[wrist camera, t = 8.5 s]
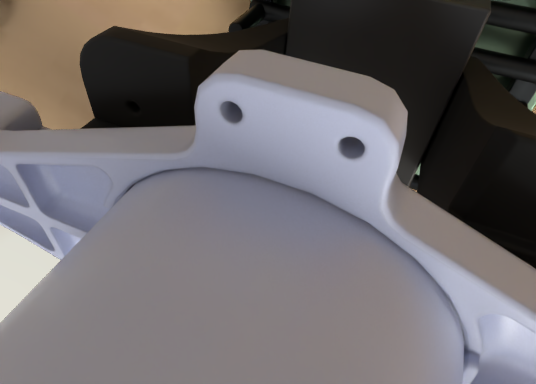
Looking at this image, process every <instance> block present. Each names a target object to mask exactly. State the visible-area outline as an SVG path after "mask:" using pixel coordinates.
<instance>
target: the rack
mask: <svg viewBox="0 0 536 384" xmlns="http://www.w3.org/2000/svg"><path fill="white" fill-rule="evenodd" d="M290 5H291V0H251V3H250V7H249V10H248V11H246V12H245V13H244V14H243V15H241V16H240V17H239V18H238V19H236V20H235V21H234V22H233V23H231V24H230V26H229V32H234V31H239V30H243V29H248V28H252V27H256V26H260V25H264V24H268V23H271V22H275V21H279V20H282V19H286V18H289V15H290ZM471 56H472V57H476V58H478V59H479V60H480V61H481V62H482V63H483V64H484V65H485V66H486V67H487V69H488V70H489V71H490V72H491V73H492V74H493V76H494V77H495V78H496V79H497V80H498V81H499V82H500V83H501V85H502V86H503V87H504V88H505V89H506V90H507V91H508V92H509V93H510V94H511V95H513V96H514V97H515V98H516V99H517V100H518V101H519V102H520V103H522V104H523V105H524V106H525V107H527V108H528V109H529V110H531V111H532V110H533V108H534V107H535V105H536V0H491V13H490V15H489V17H488V19H487V22H486V24H485V26H484V28H483V30H482V32H481V34H480V37H479V39H478V41H477V43H476V45H475V47H474V49H473V51H472V54H471ZM420 164H421V163H420ZM419 174H420V165H419V167H418V169H417V171H416V173H415V175H414V177H413V180H412V182H411V184H410V186H409V188H411V189H414V190H418V184H419Z"/></svg>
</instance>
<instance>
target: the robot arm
mask: <svg viewBox="0 0 536 384" xmlns="http://www.w3.org/2000/svg"><path fill="white" fill-rule="evenodd" d="M288 24H289V18H286V19H282V20H279V21H275V22H271V23H268V24H264V25H260V26H256V27H252V28H248V29H243V30H239V31H234V32H227V33H219V34H208V35H175V34H162V33H152V32H145V31H139V30H133V29H128V28H122V27H117V26H113V27H111V28H109V29H107V30H106V31H104V32H102V33H100V34H98V35H97V36H95V37H93V38H91V39H90V40H89V41H88V42H87V43H85V44H84V47H83V49H82V51H81V53H80V68H81V73H82V78H83V82H84V85H85V88H86V91H87V94H88V98H89V101H90V104H91V107H92V111H93V114H94V117H95V118H94V119H93V120H92V121H90V122H89V123H88V124H86V125H85V126H84V127H82V128H81V129H56V130H52V129H49V128H46V127H43V126H42V122H41V119H40V116H39V114H38V112H37V110H36V108H35V107H34V106H33V105H32V104H31V103H30V102H29V101H27V100H25V99H23V98H20V97H17V96H14V95H11V94H8V93H5V92H2V91H0V225H2V226H4V227H5V228H8V229H9V230H11V231H13V232H15V233H16V234H18V235H20V236H22V237H23V238H25V239H27V240H28V241H30V242H32V243H34V244H35V245H37V246H39V247H40V248H42V249H43V250H45V251H47V252H48V253H50V254H52V255H53V256H55V257H57V258H58V259H60V260H61V261H60V262H59V263H58V264H57V265H56V266H55V267H54V268H53V269H52V270H51V271H50V272H49V273H48V274H47V275H46V276H45V277H44V278H43V279H42V280H41V281H40V282H39V283H38V284H37V285H36V286H35V288H34V289H33V290H32V291H31V292H30V293H29V294H28V295H27V296H26V297H25V298H24V299H23V300H22V301H21V302H20V303H19V304H18V305H17V306H16V307H15V308H14V309H13V310H12V311H11V312H10V313H9V314H8V316H7V317H5V319H4V320H3V321H2V322H1V323H0V384H536V114H535V113H533V112H532V111H531V110H529V109H528V108H527V107H525V106H524V105H523V104H522V103H520V102H519V101H518V100H517V99H516V98H515V97H514V96H513V95H511V94H510V93H509V92H508V91H507V90H506V89H505V88H504V87H503V86H502V85H501V83H500V82H499V81H498V80H497V79H496V78H495V77H494V76H493V74H492V73H491V72H490V71H489V70H488V69H487V67H486V66H485V65H484V64H483V63H482V62H481V61H480V60H479V59H478V58H476V57H472V56H470V58H469V60H468V62H467V64H466V66H465V69H464V71H463V73H462V75H461V77H460V79H459V81H458V84H457V86H456V88H455V90H454V92H453V94H452V96H451V98H450V101H449V103H448V105H447V107H446V109H445V111H444V113H443V116H442V118H441V120H440V122H439V124H438V126H437V128H436V131H435V133H434V135H433V137H432V139H431V141H430V143H429V145H428V148H427V150H426V152H425V154H424V156H423V158H422V160H421V164H420V174H419V184H418V190H417V192H415V191H414V190H412V189H411V188H409V187H408V186H406V185H405V184H403V183H402V182H401V181H400V179H399V177H398V175H397V174H396V171H397V169H398V166H399V162H400V158H401V154H402V150H403V146H404V142H405V138H406V132H407V116H408V111H407V109H406V108H405V106H404V105H403V103H402V101H401V100H400V98H399V96H398V95H397V93H396V91H395V90H394V89H392V88H390V87H389V86H387V85H385V84H383V83H381V82H379V81H377V80H376V79H374V78H372V77H370V76H366V75H362V74H358V73H354V72H350V71H346V70H342V69H338V68H334V67H330V66H326V65H322V64H318V63H314V62H310V61H306V60H302V59H298V58H294V57H290V56H286V55H285V54H286V44H287V34H288Z"/></svg>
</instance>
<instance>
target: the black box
mask: <svg viewBox="0 0 536 384" xmlns="http://www.w3.org/2000/svg"><path fill="white" fill-rule="evenodd" d="M490 13H491V0H291V5H290V15H289V24H288V34H287V44H286V54H285V55H286V56H290V57H294V58H298V59H302V60H306V61H310V62H314V63H318V64H322V65H326V66H330V67H334V68H338V69H342V70H346V71H350V72H354V73H358V74H362V75H366V76H370V77H372V78H374V79H376V80H377V81H379V82H381V83H383V84H385V85H387V86H389V87H390V88H392V89H394V90H395V91H396V93H397V95H398V96H399V98H400V100H401V101H402V103H403V105H404V106H405V108H406V109H407V111H408V116H407V132H406V138H405V142H404V146H403V150H402V154H401V158H400V162H399V166H398V169H397V171H396V174H397V175H398V177H399V179H400V181H401V182H402V183H403V184H405V185H406V186H408V187H409V186H410V184H411V182H412V180H413V177H414V175H415V173H416V171H417V169H418V167H419V165H420V163H421V160H422V158H423V156H424V154H425V152H426V150H427V148H428V145H429V143H430V141H431V139H432V137H433V135H434V133H435V131H436V128H437V126H438V124H439V122H440V120H441V118H442V116H443V113H444V111H445V109H446V107H447V105H448V103H449V101H450V98H451V96H452V94H453V92H454V90H455V88H456V86H457V84H458V81H459V79H460V77H461V75H462V73H463V71H464V69H465V66H466V64H467V62H468V60H469V58H470V56H471V54H472V51H473V49H474V47H475V45H476V43H477V41H478V39H479V37H480V34H481V32H482V30H483V28H484V26H485V24H486V22H487V19H488V17H489V15H490Z"/></svg>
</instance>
